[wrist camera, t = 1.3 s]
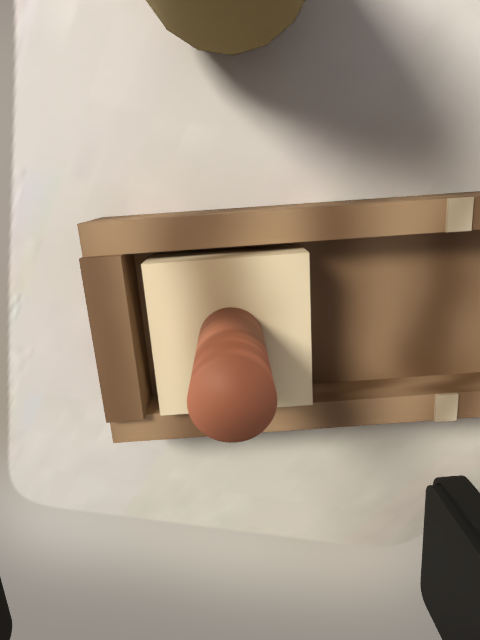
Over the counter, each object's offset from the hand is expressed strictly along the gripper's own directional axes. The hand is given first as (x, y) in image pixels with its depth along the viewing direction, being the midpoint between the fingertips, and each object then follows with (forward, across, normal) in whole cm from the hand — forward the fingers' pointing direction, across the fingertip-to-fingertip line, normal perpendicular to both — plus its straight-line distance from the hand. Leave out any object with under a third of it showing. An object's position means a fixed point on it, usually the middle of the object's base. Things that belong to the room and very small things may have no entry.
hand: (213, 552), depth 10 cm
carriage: (+17, -1, 0) cm, 17 cm away
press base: (+19, -7, 0) cm, 20 cm away
